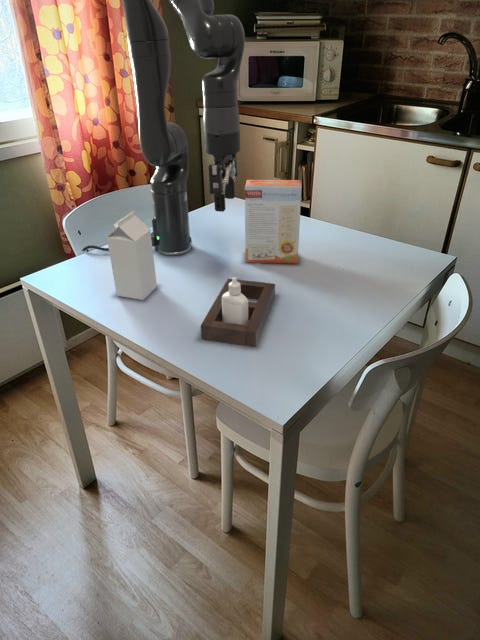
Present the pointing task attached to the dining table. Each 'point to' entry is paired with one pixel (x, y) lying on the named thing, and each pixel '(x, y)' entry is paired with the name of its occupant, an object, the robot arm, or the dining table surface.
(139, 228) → the milk carton
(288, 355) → the dining table surface
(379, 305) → the dining table surface
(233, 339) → the holder
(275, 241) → the cracker box
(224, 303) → the eye dropper bottle
